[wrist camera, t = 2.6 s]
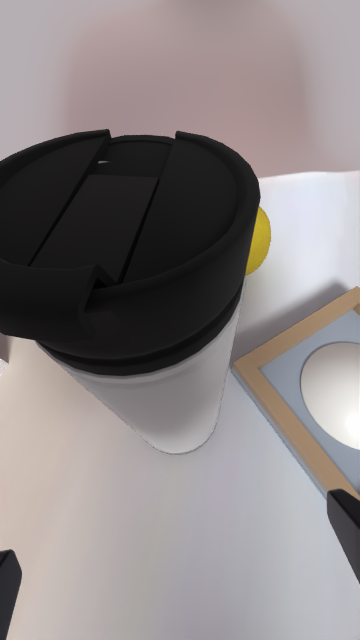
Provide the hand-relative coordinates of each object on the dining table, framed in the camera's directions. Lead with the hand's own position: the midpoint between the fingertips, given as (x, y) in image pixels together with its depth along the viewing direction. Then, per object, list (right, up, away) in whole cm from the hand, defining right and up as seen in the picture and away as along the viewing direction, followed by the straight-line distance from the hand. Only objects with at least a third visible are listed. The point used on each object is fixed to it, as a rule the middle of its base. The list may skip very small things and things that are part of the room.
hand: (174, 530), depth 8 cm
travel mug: (0, -1, +14) cm, 14 cm away
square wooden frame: (+13, 0, +14) cm, 19 cm away
